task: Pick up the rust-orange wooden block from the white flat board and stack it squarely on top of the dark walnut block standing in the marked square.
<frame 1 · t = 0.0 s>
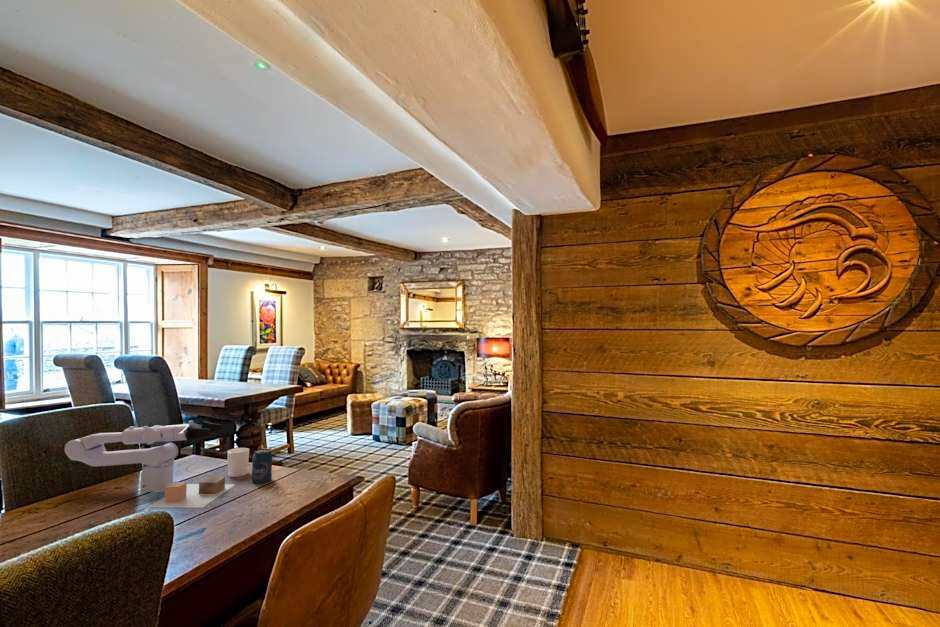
hand: (215, 429, 166), 22 cm above the table, tool horizontal, fingers open, 7 cm apart
base block: (211, 490, 162), resting on white flat board
soda can: (261, 482, 174), on the table
white cup: (237, 475, 181), on the table
top block: (175, 499, 154), resting on white flat board
white flat board: (194, 496, 158), on the table
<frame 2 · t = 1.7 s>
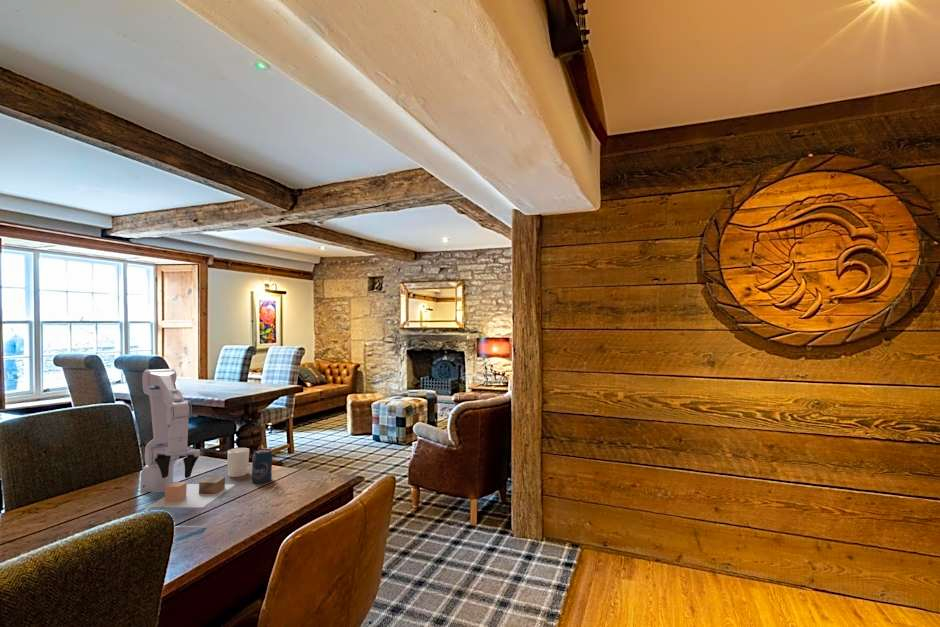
hand: (176, 477, 154), 8 cm above the table, tool pointing down, fingers open, 7 cm apart
nothing on the table moved.
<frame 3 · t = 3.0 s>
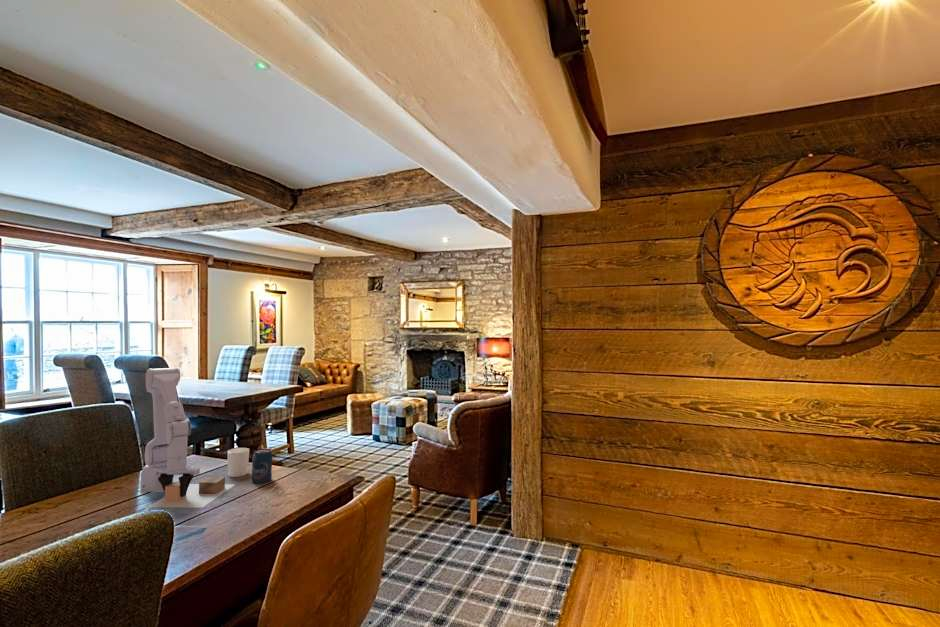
hand: (175, 495, 154), 2 cm above the table, tool pointing down, fingers closed on top block, 4 cm apart
top block: (175, 499, 154), resting on white flat board, touching gripper
everything else where it was.
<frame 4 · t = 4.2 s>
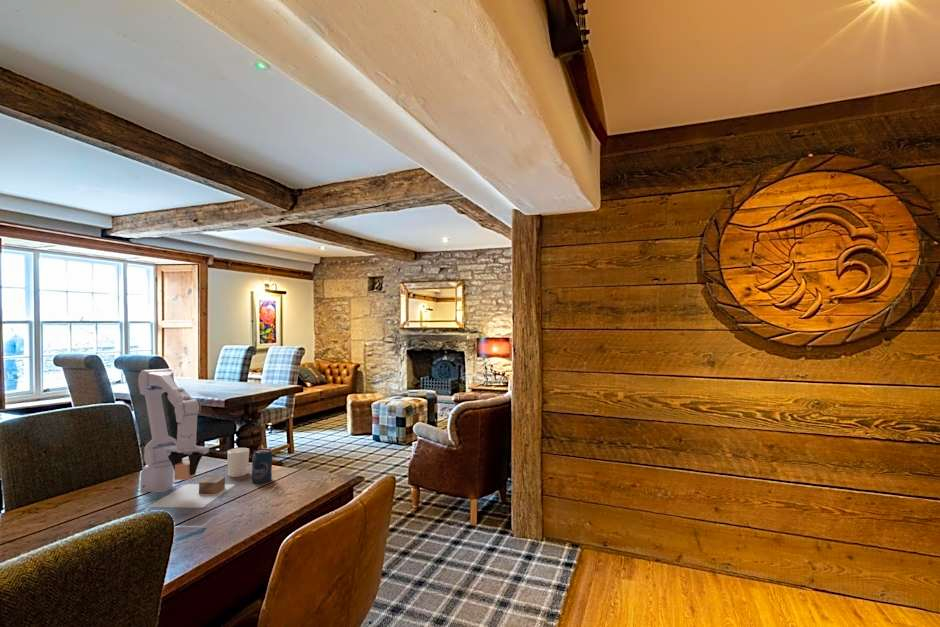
hand: (185, 474, 156), 8 cm above the table, tool pointing down, fingers closed on top block, 4 cm apart
top block: (185, 477, 156), point 7 cm above the table, touching gripper
everything else where it was.
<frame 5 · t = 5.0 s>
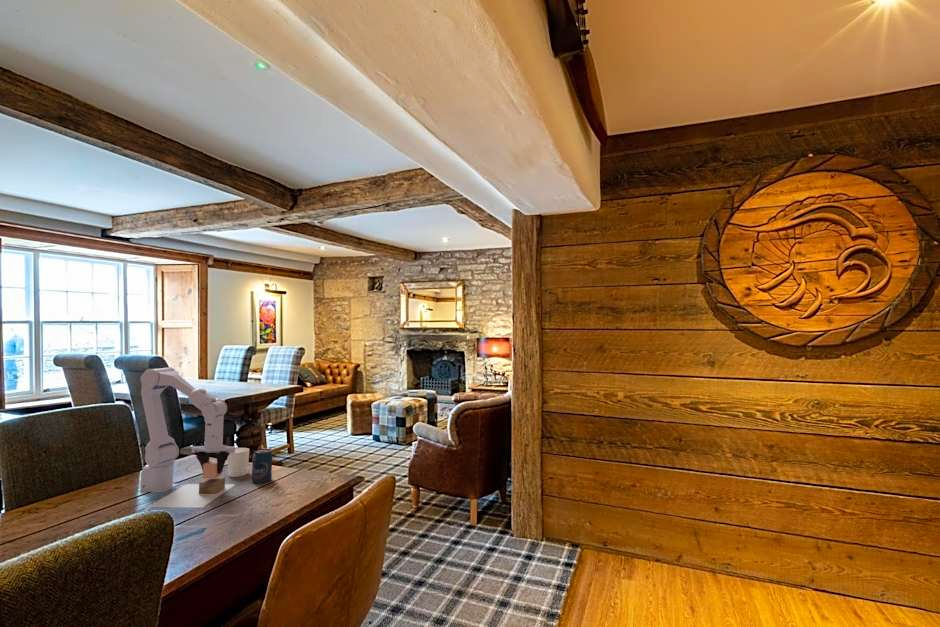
hand: (212, 472, 163), 7 cm above the table, tool pointing down, fingers closed on top block, 4 cm apart
top block: (212, 476, 162), point 6 cm above the table, touching gripper
everything else where it was.
when the fingers open (7 cm above the table, at t = 5.5 s): top block stays where it is, resting on base block.
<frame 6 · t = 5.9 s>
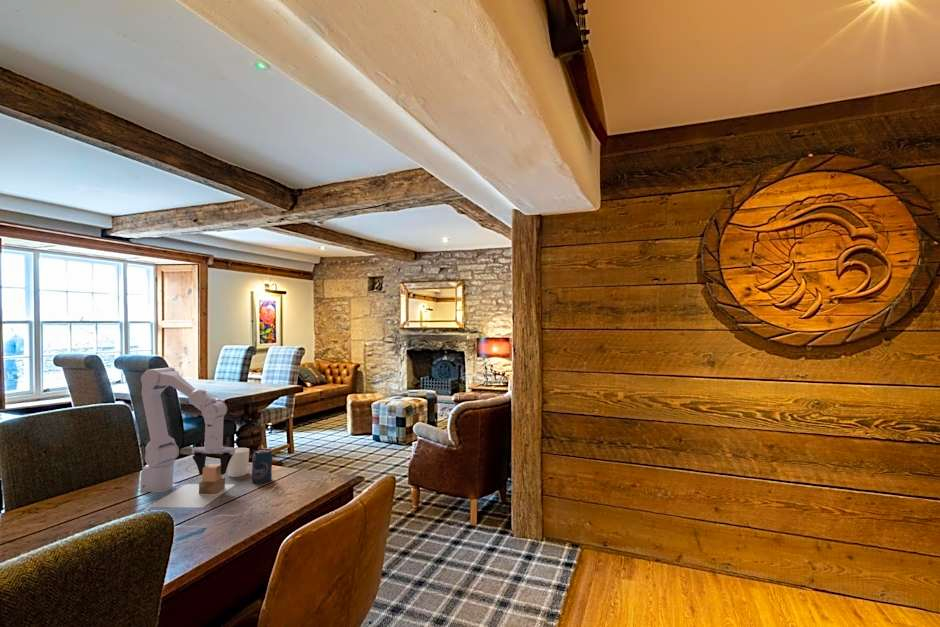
hand: (212, 473, 163), 7 cm above the table, tool pointing down, fingers open, 7 cm apart
base block: (211, 490, 162), resting on white flat board, touching top block
top block: (212, 479, 162), point 4 cm above the table, touching base block
everything else where it was.
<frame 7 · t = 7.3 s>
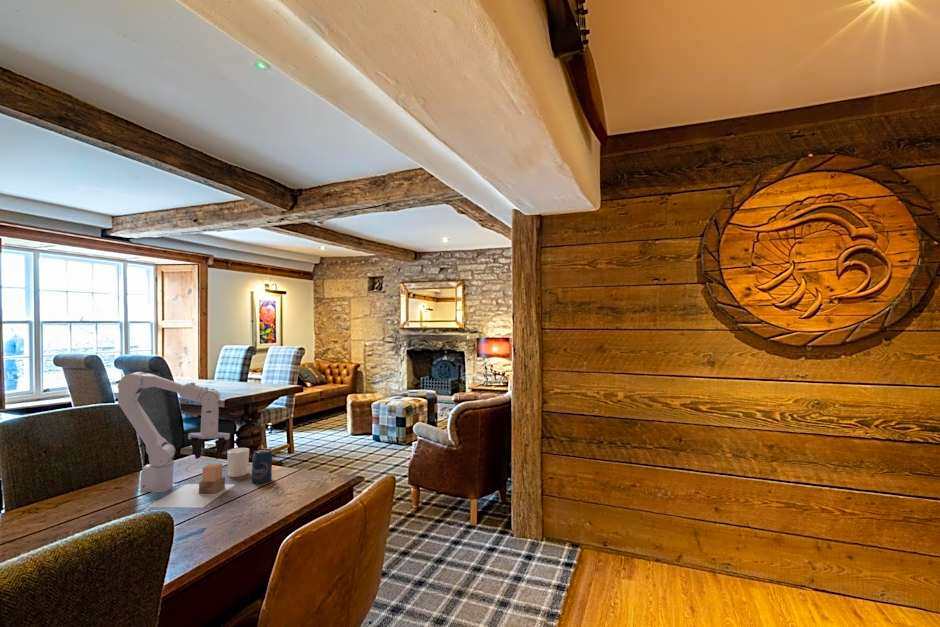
hand: (208, 458, 170), 10 cm above the table, tool pointing down, fingers open, 7 cm apart
nothing on the table moved.
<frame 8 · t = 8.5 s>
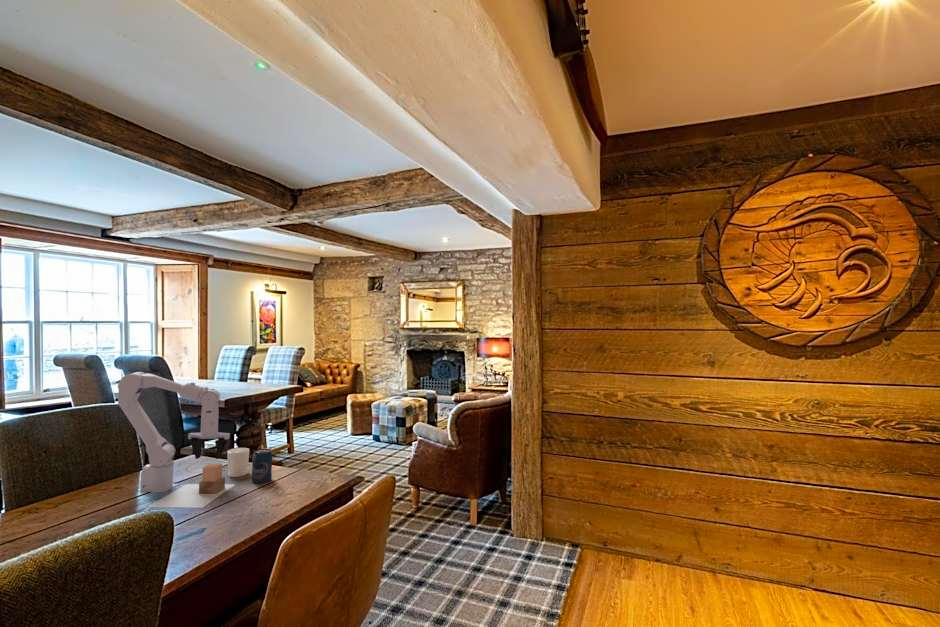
hand: (208, 458, 170), 10 cm above the table, tool pointing down, fingers open, 7 cm apart
nothing on the table moved.
at the end: top block 0.1 cm from the base block (horizontally); top block point 4.5 cm above the table; top block tilted 0° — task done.
